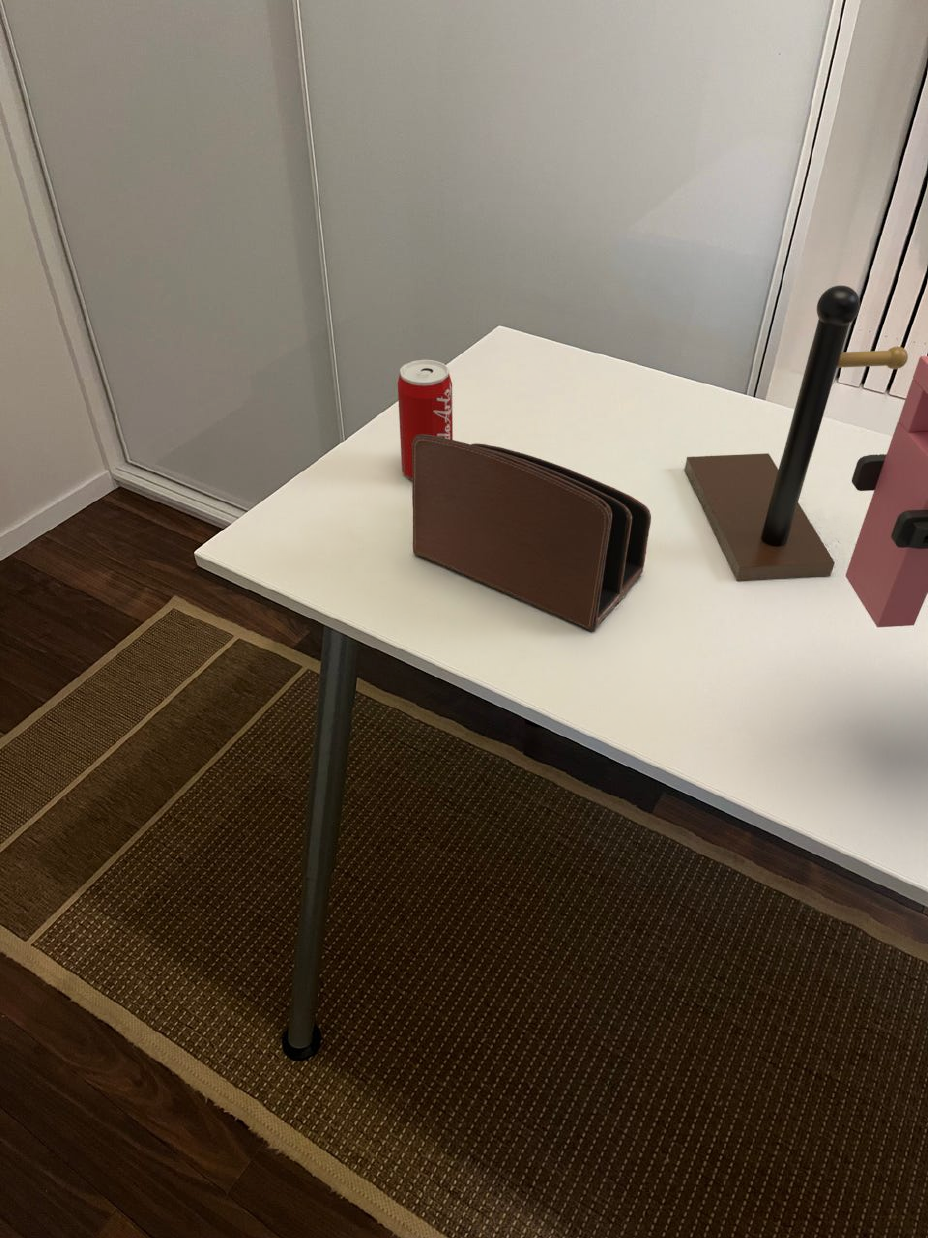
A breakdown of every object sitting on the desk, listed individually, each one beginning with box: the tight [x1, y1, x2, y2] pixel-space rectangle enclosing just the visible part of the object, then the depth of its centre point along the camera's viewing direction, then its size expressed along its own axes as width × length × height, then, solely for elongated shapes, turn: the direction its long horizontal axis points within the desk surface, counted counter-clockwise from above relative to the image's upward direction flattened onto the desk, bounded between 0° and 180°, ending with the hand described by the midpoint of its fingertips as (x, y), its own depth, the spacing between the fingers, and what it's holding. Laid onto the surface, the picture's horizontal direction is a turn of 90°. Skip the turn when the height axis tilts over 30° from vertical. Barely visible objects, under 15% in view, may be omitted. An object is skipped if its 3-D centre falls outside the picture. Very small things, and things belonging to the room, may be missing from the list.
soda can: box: [397, 359, 454, 480], centre depth 97 cm, size 6×6×12 cm
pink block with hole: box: [844, 355, 928, 628], centre depth 57 cm, size 2×5×16 cm, turn 5°
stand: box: [684, 285, 909, 582], centre depth 86 cm, size 12×19×26 cm, turn 5°
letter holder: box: [411, 434, 652, 633], centre depth 85 cm, size 10×20×14 cm, turn 56°
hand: (877, 500), depth 57 cm, fingers closed on pink block with hole, 5 cm apart
